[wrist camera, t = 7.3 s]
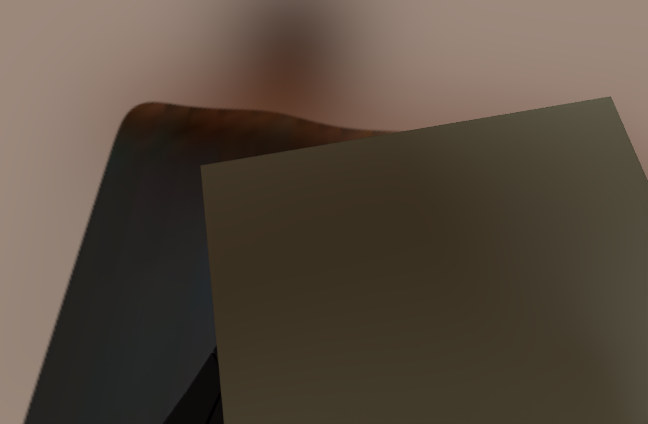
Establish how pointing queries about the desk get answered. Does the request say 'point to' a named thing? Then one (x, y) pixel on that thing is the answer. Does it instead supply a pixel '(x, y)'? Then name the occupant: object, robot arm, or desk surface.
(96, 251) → the desk surface
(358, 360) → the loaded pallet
